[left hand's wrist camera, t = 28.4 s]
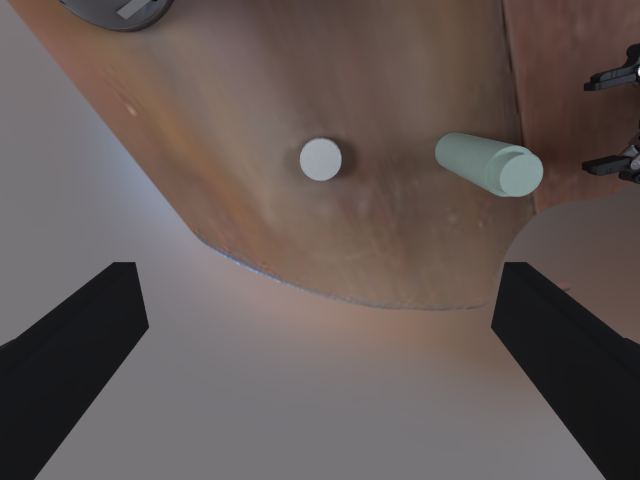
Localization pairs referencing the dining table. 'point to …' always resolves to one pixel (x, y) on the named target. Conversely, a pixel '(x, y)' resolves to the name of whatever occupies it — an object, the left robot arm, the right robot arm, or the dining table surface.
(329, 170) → the lid
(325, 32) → the dining table surface
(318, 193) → the dining table surface
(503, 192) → the green bottle
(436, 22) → the dining table surface
